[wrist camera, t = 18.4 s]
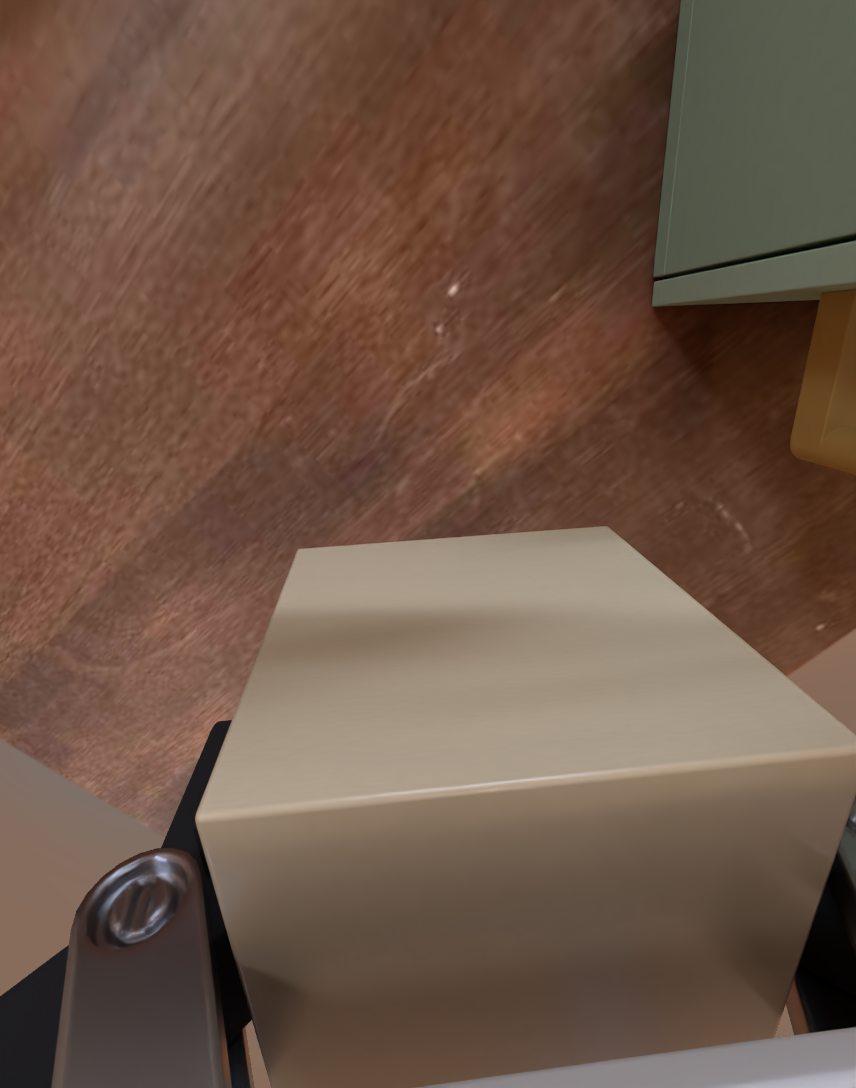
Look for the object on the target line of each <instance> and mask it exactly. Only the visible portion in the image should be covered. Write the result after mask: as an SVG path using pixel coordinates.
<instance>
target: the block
mask: <svg viewBox="0 0 856 1088" xmlns="http://www.w3.org/2000/svg"><path fill="white" fill-rule="evenodd" d="M855 796H856V734H855V733H854V732H852V731H851V730H850V729H849V728H848V727H846V726H845V725H844V724H843V723H842V722H840V721H839V720H838V719H837V718H835V717H834V716H833V715H832V714H831V713H830V712H828V711H827V710H826V709H825V708H824V707H823V706H821V705H820V704H819V703H818V702H816V701H815V700H814V699H813V698H812V697H811V696H809V695H808V694H807V693H806V692H805V691H803V690H802V689H801V688H800V687H799V686H797V685H796V684H795V683H794V682H793V681H791V680H790V679H789V678H788V677H787V676H786V675H784V674H783V673H782V672H781V671H780V670H778V669H777V668H776V667H775V666H774V665H772V664H771V663H770V662H769V661H768V660H766V659H765V658H764V657H763V656H762V655H760V654H759V653H758V652H757V651H756V650H755V649H753V648H752V647H751V646H750V645H749V644H747V643H746V642H745V641H744V640H743V639H741V638H740V637H739V636H738V635H737V634H735V633H734V632H733V631H732V630H731V629H729V628H728V627H727V626H726V625H725V624H723V623H722V622H721V621H720V620H719V619H718V618H716V617H715V616H714V615H713V614H712V613H710V612H709V611H708V610H707V609H706V608H704V607H703V606H702V605H701V604H700V603H698V602H697V601H696V600H695V599H694V598H692V597H691V596H690V595H689V594H688V593H686V592H685V591H684V590H683V589H682V588H681V587H679V586H678V585H677V584H676V583H675V582H673V581H672V580H671V579H670V578H669V577H667V576H666V575H665V574H664V573H663V572H661V571H660V570H659V569H658V568H657V567H655V566H654V565H653V564H652V563H651V562H649V561H648V560H647V559H646V558H645V557H644V556H642V555H641V554H640V553H639V552H638V551H636V550H635V549H634V548H633V547H632V546H630V545H629V544H628V543H627V542H626V541H624V540H623V539H622V538H621V537H620V536H618V535H617V534H616V533H615V532H614V531H612V530H611V529H610V528H609V527H607V526H603V527H589V528H576V529H562V530H549V531H535V532H522V533H508V534H495V535H482V536H468V537H455V538H441V539H428V540H414V541H401V542H387V543H374V544H360V545H347V546H333V547H320V548H307V549H299V550H297V553H296V555H295V558H294V560H293V563H292V566H291V568H290V571H289V573H288V576H287V579H286V581H285V584H284V586H283V589H282V592H281V594H280V597H279V599H278V602H277V605H276V607H275V610H274V612H273V615H272V618H271V620H270V623H269V625H268V628H267V631H266V633H265V636H264V638H263V641H262V644H261V646H260V649H259V651H258V654H257V657H256V659H255V662H254V664H253V667H252V670H251V672H250V675H249V677H248V680H247V683H246V685H245V688H244V690H243V693H242V696H241V698H240V701H239V703H238V706H237V709H236V711H235V714H234V716H233V719H232V722H231V724H230V727H229V730H228V732H227V735H226V737H225V740H224V743H223V745H222V748H221V750H220V753H219V756H218V758H217V761H216V763H215V766H214V769H213V771H212V774H211V776H210V779H209V782H208V784H207V787H206V789H205V792H204V795H203V797H202V800H201V802H200V805H199V808H198V810H197V813H196V816H195V821H196V826H197V829H198V833H199V836H200V840H201V843H202V847H203V850H204V854H205V857H206V861H207V864H208V868H209V871H210V875H211V878H212V882H213V885H214V889H215V892H216V896H217V899H218V903H219V906H220V910H221V913H222V917H223V920H224V924H225V927H226V931H227V934H228V938H229V941H230V945H231V948H232V952H233V955H234V959H235V962H236V966H237V969H238V973H239V976H240V980H241V983H242V986H243V990H244V993H245V997H246V1000H247V1004H248V1007H249V1011H250V1014H251V1018H252V1021H253V1025H254V1028H255V1032H256V1035H257V1039H258V1042H259V1046H260V1049H261V1053H262V1056H263V1060H264V1063H265V1067H266V1070H267V1074H268V1077H269V1081H270V1084H271V1088H416V1087H423V1086H430V1085H437V1084H444V1083H451V1082H458V1081H465V1080H472V1079H479V1078H486V1077H493V1076H500V1075H507V1074H514V1073H521V1072H528V1071H536V1070H543V1069H550V1068H557V1067H564V1066H572V1065H579V1064H586V1063H593V1062H601V1061H608V1060H615V1059H622V1058H629V1057H637V1056H644V1055H651V1054H659V1053H666V1052H673V1051H681V1050H688V1049H695V1048H702V1047H710V1046H717V1045H724V1044H732V1043H739V1042H746V1041H754V1040H761V1039H769V1038H774V1037H775V1034H776V1031H777V1028H778V1025H779V1022H780V1019H781V1016H782V1013H783V1010H784V1007H785V1004H786V1001H787V998H788V995H789V992H790V989H791V986H792V983H793V980H794V977H795V974H796V972H797V969H798V966H799V963H800V960H801V957H802V954H803V951H804V948H805V945H806V942H807V939H808V936H809V933H810V930H811V927H812V924H813V921H814V918H815V915H816V912H817V909H818V906H819V903H820V900H821V897H822V894H823V891H824V888H825V885H826V882H827V880H828V877H829V874H830V871H831V868H832V865H833V862H834V859H835V856H836V853H837V850H838V847H839V844H840V841H841V838H842V835H843V832H844V829H845V826H846V823H847V820H848V817H849V814H850V811H851V808H852V805H853V802H854V799H855Z"/></svg>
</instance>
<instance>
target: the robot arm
mask: <svg viewBox="0 0 856 1088" xmlns="http://www.w3.org/2000/svg"><path fill="white" fill-rule="evenodd" d="M231 722H232V720H229V721H219V722H217V723H216V724H215V725H214V726H213V728H212V730H211V732H210V734H209V737H208V739H207V742H206V744H205V746H204V749H203V751H202V753H201V756H200V758H199V760H198V763H197V765H196V767H195V770H194V772H193V774H192V777H191V779H190V781H189V784H188V786H187V788H186V791H185V793H184V795H183V798H182V800H181V803H180V805H179V807H178V810H177V812H176V814H175V817H174V819H173V821H172V824H171V826H170V828H169V831H168V833H167V835H166V838H165V840H164V843H163V845H162V847H161V848H157V849H154V850H150V851H146V852H143V853H140V854H138V855H135V856H133V857H131V858H129V859H128V860H126V861H124V862H122V863H120V864H119V865H117V866H116V867H115V868H114V869H112V870H111V871H109V872H108V873H107V874H105V875H104V876H103V877H102V878H101V879H100V880H99V881H98V882H97V883H96V884H95V885H94V886H93V888H92V889H91V890H90V891H89V892H88V893H87V895H86V896H85V898H84V900H83V901H82V903H81V904H80V906H79V908H78V909H77V911H76V914H75V918H74V921H73V924H72V928H71V933H70V941H69V945H68V946H67V947H65V948H64V949H63V950H61V951H60V952H59V953H57V954H56V955H55V956H53V957H52V958H51V959H49V960H48V961H47V962H46V963H44V964H43V965H42V966H40V967H39V968H37V969H36V970H35V971H33V972H32V973H31V974H29V975H28V976H27V977H26V978H24V979H23V980H21V981H20V982H19V983H18V984H16V985H15V986H14V987H12V988H11V989H10V990H9V991H7V992H6V993H4V994H3V995H2V996H0V1088H254V1082H253V1075H252V1069H251V1062H250V1055H249V1048H248V1042H247V1035H246V1028H245V1026H246V1025H247V1024H248V1023H249V1022H250V1021H251V1020H252V1018H251V1014H250V1011H249V1007H248V1004H247V1000H246V997H245V993H244V990H243V986H242V983H241V980H240V976H239V973H238V969H237V966H236V962H235V959H234V955H233V952H232V948H231V945H230V941H229V938H228V934H227V931H226V927H225V924H224V920H223V917H222V913H221V910H220V906H219V903H218V899H217V896H216V892H215V889H214V885H213V882H212V878H211V875H210V871H209V868H208V864H207V861H206V857H205V854H204V850H203V847H202V843H201V840H200V836H199V833H198V829H197V826H196V821H195V816H196V813H197V810H198V808H199V805H200V802H201V800H202V797H203V795H204V792H205V789H206V787H207V784H208V782H209V779H210V776H211V774H212V771H213V769H214V766H215V763H216V761H217V758H218V756H219V753H220V750H221V748H222V745H223V743H224V740H225V737H226V735H227V732H228V730H229V727H230V724H231ZM786 1005H787V1009H788V1013H789V1017H790V1021H791V1024H792V1028H793V1032H794V1035H792V1036H785V1037H777V1038H769V1039H761V1040H754V1041H746V1042H739V1043H732V1044H724V1045H717V1046H710V1047H702V1048H695V1049H688V1050H681V1051H673V1052H666V1053H659V1054H651V1055H644V1056H637V1057H629V1058H622V1059H615V1060H608V1061H601V1062H593V1063H586V1064H579V1065H572V1066H564V1067H557V1068H550V1069H543V1070H536V1071H528V1072H521V1073H514V1074H507V1075H500V1076H493V1077H486V1078H479V1079H472V1080H465V1081H458V1082H451V1083H444V1084H437V1085H430V1086H423V1087H416V1088H856V796H855V799H854V802H853V805H852V808H851V811H850V814H849V817H848V820H847V823H846V826H845V829H844V832H843V835H842V838H841V841H840V844H839V847H838V850H837V853H836V856H835V859H834V862H833V865H832V868H831V871H830V874H829V877H828V880H827V882H826V885H825V888H824V891H823V894H822V897H821V900H820V903H819V906H818V909H817V912H816V915H815V918H814V921H813V924H812V927H811V930H810V933H809V936H808V939H807V942H806V945H805V948H804V951H803V954H802V957H801V960H800V963H799V966H798V969H797V972H796V974H795V977H794V980H793V983H792V986H791V989H790V992H789V995H788V998H787V1001H786Z"/></svg>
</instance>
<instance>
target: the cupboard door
mask: <svg viewBox="0 0 856 1088" xmlns="http://www.w3.org/2000/svg"><path fill="white" fill-rule="evenodd" d="M804 300H820V301H819V306H818V311H817V316H816V320H815V325H814V330H813V335H812V339H811V344H810V349H809V353H808V358H807V363H806V368H805V372H804V377H803V382H802V387H801V391H800V396H799V401H798V406H797V410H796V415H795V420H794V424H793V429H792V434H791V439H790V449H791V452H792V454H793V455H794V456H795V457H796V458H798V459H801V460H804V461H808V462H811V463H815V464H818V465H821V466H825V467H828V468H832V469H835V470H839V471H842V472H846V473H849V474H852V475H856V241H851V242H847V243H842V244H837V245H832V246H827V247H822V248H817V249H812V250H807V251H802V252H798V253H793V254H788V255H783V256H778V257H773V258H768V259H763V260H758V261H753V262H748V263H744V264H739V265H734V266H729V267H724V268H719V269H714V270H709V271H704V272H699V273H694V274H690V275H685V276H680V277H675V278H670V279H665V280H660V281H656V282H654V289H653V298H652V306H653V307H657V306H681V305H706V304H730V303H755V302H779V301H804Z"/></svg>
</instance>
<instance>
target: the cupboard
mask: <svg viewBox="0 0 856 1088" xmlns="http://www.w3.org/2000/svg"><path fill="white" fill-rule="evenodd" d="M851 241H856V0H681V5H680V15H679V25H678V35H677V44H676V54H675V64H674V74H673V84H672V94H671V104H670V114H669V124H668V133H667V143H666V153H665V163H664V173H663V183H662V193H661V203H660V213H659V223H658V232H657V242H656V252H655V262H654V272H653V277H654V278H660V277H680V276H685V275H690V274H694V273H699V272H704V271H709V270H714V269H719V268H724V267H729V266H734V265H739V264H744V263H748V262H753V261H758V260H763V259H768V258H773V257H778V256H783V255H788V254H793V253H798V252H802V251H807V250H812V249H817V248H822V247H827V246H832V245H837V244H842V243H847V242H851Z"/></svg>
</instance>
